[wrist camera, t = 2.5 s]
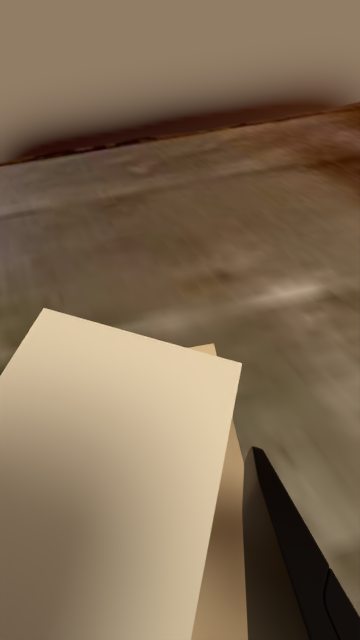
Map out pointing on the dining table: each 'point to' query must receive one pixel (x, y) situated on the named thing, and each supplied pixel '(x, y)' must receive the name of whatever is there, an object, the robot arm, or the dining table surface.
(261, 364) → the dining table surface
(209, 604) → the board
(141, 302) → the dining table surface
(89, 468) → the carton
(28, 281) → the dining table surface
